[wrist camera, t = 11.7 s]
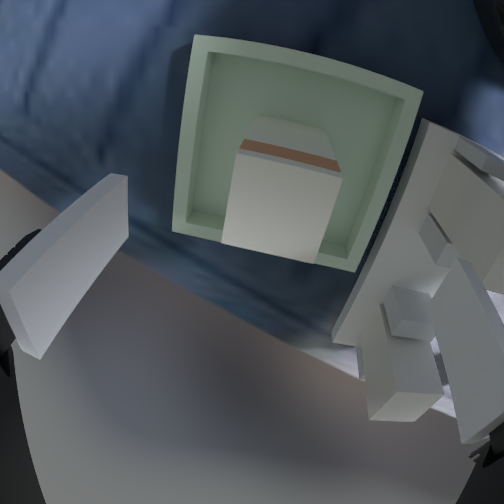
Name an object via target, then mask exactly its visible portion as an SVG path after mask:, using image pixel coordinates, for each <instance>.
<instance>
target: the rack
mask: <svg viewBox="0 0 504 504" xmlns="http://www.w3.org/2000/svg"><path fill="white" fill-rule="evenodd" d="M450 154H452V155H455V156H457V157H459V158H461V159H463V160H466V161H468V162H470V163H472V164H474V165H475V166H476V167H478V168H479V169H480V170H482V171H484V172H486V173H488V174H490V175H492V176H494V177H496V178H498V179H500V180H501V181H503V182H504V157H503V156H501V155H499V154H497V153H495V152H494V151H492V150H490V149H488V148H486V147H484V146H482V145H480V144H478V143H476V142H474V141H472V140H470V139H468V138H466V137H464V136H462V135H460V134H458V133H456V132H454V131H452V130H449V129H447V128H445V127H443V126H441V125H438V124H436V123H434V122H431V121H429V120H427V119H424V118H422V120H421V123H420V126H419V129H418V132H417V135H416V138H415V141H414V144H413V146H412V149H411V152H410V155H409V158H408V160H407V163H406V166H405V169H404V171H403V174H402V177H401V179H400V182H399V184H398V187H397V190H396V192H395V195H394V197H393V200H392V202H391V205H390V207H389V210H388V212H387V214H386V217H385V219H384V222H383V224H382V226H381V229H380V231H379V233H378V235H377V238H376V240H375V242H374V245H373V247H372V249H371V251H370V253H369V256H368V258H367V260H366V262H365V264H364V267H363V269H362V271H361V273H360V275H359V277H358V279H357V281H356V283H355V285H354V287H353V290H352V292H351V294H350V296H349V298H348V300H347V302H346V304H345V306H344V308H343V310H342V312H341V313H340V315H339V317H338V319H337V321H336V323H335V325H334V327H333V329H332V331H331V335H332V343H338V344H343V345H350V346H356V352H357V361H358V370H359V379H363V380H365V375H364V366H363V358H362V350H361V342H360V335H361V333H362V332H363V330H364V329H365V327H366V325H367V324H368V322H369V320H370V319H371V317H372V315H373V313H374V312H375V310H376V308H377V307H378V305H379V304H383V305H384V306H385V311H386V315H387V319H388V323H389V327H390V332H391V335H392V336H399V337H405V338H412V339H418V340H425V341H432V340H433V338H434V337H435V336H436V335H435V332H434V329H433V326H432V323H431V320H430V316H429V313H428V310H427V308H426V307H427V305H428V303H429V302H430V300H431V299H432V297H433V296H434V294H435V293H436V291H437V289H438V288H439V286H440V285H441V283H442V281H443V280H444V278H445V276H446V275H447V273H448V271H449V270H450V268H451V266H452V265H453V263H454V261H455V259H456V258H460V259H462V258H461V257H460V255H459V254H458V252H457V250H456V249H455V247H454V246H453V244H452V242H451V241H450V239H449V238H448V236H447V235H446V233H445V232H444V230H443V229H442V227H441V226H440V224H439V223H438V221H437V220H436V218H435V217H434V216H433V214H432V213H431V211H430V210H429V208H428V206H429V204H430V202H431V200H432V197H433V195H434V193H435V190H436V188H437V185H438V183H439V181H440V178H441V176H442V173H443V171H444V168H445V166H446V163H447V160H448V158H449V155H450Z"/></svg>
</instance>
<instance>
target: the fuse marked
mask: <svg viewBox="0 0 504 504" xmlns="http://www.w3.org/2000/svg"><path fill="white" fill-rule="evenodd" d="M342 181H343V177H342V174H341V170H340V168H339V165H338V162H337V160H336V157H335V155H334V152H333V149H332V147H331V144H330V141H329V139H328V136H327V134H326V131H325V130H324V129H320V128H316V127H312V126H308V125H304V124H300V123H296V122H292V121H288V120H284V119H279V118H275V117H270V116H265V115H261V114H259V116H258V117H257V119H256V121H255V122H254V124H253V126H252V127H251V129H250V131H249V132H248V134H247V136H246V137H245V139H244V140H243V142H242V144H241V145H240V147H239V149H238V151H237V153H236V158H235V163H234V169H233V175H232V180H231V186H230V192H229V198H228V204H227V210H226V216H225V222H224V228H223V234H222V241H221V243H222V244H227V245H231V246H236V247H240V248H245V249H249V250H254V251H258V252H262V253H267V254H271V255H276V256H280V257H285V258H289V259H293V260H298V261H302V262H307V263H311V264H314V261H315V258H316V256H317V253H318V250H319V247H320V245H321V242H322V239H323V236H324V233H325V231H326V228H327V225H328V222H329V219H330V216H331V213H332V210H333V208H334V205H335V202H336V199H337V196H338V193H339V190H340V187H341V184H342Z"/></svg>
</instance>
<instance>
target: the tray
mask: <svg viewBox="0 0 504 504" xmlns="http://www.w3.org/2000/svg"><path fill="white" fill-rule="evenodd" d="M423 92H424V91H422V90H419V89H417V88H414V87H412V86H410V85H407V84H405V83H402V82H399V81H397V80H394V79H392V78H389V77H386V76H383V75H381V74H378V73H375V72H372V71H369V70H366V69H363V68H360V67H357V66H353V65H350V64H347V63H344V62H340V61H337V60H333V59H330V58H326V57H322V56H318V55H314V54H310V53H306V52H302V51H298V50H293V49H289V48H284V47H279V46H274V45H269V44H263V43H257V42H251V41H245V40H238V39H231V38H223V37H215V36H205V35H194V39H193V45H192V51H191V57H190V63H189V70H188V76H187V83H186V90H185V97H184V105H183V113H182V121H181V129H180V138H179V148H178V158H177V168H176V179H175V192H174V205H173V220H172V231H173V232H177V233H182V234H186V235H191V236H195V237H200V238H204V239H208V240H213V241H217V242H221V241H222V234H223V228H224V222H225V216H226V210H227V204H228V198H229V192H230V186H231V180H232V175H233V169H234V163H235V158H236V153H237V151H238V149H239V147H240V145H241V144H242V142H243V140H244V139H245V137H246V136H247V134H248V132H249V131H250V129H251V127H252V126H253V124H254V122H255V121H256V119H257V117H258V116H259V114H261V115H265V116H270V117H275V118H279V119H284V120H288V121H292V122H296V123H300V124H304V125H308V126H312V127H316V128H320V129H324V130H325V131H326V134H327V136H328V139H329V141H330V144H331V147H332V149H333V152H334V155H335V157H336V160H337V162H338V165H339V168H340V170H341V174H342V177H343V181H342V184H341V187H340V190H339V193H338V196H337V199H336V202H335V205H334V208H333V210H332V213H331V216H330V219H329V222H328V225H327V228H326V231H325V233H324V236H323V239H322V242H321V245H320V247H319V250H318V253H317V256H316V258H315V261H314V263H315V264H319V265H324V266H328V267H332V268H337V269H341V270H346V271H350V272H354V273H355V272H356V269H357V267H358V265H359V263H360V261H361V258H362V256H363V254H364V252H365V249H366V247H367V245H368V243H369V240H370V238H371V236H372V233H373V231H374V229H375V226H376V224H377V221H378V219H379V217H380V214H381V212H382V209H383V207H384V204H385V202H386V199H387V197H388V194H389V192H390V189H391V186H392V184H393V181H394V178H395V176H396V173H397V170H398V168H399V165H400V162H401V159H402V157H403V154H404V151H405V148H406V145H407V142H408V139H409V136H410V133H411V130H412V127H413V124H414V121H415V118H416V115H417V112H418V108H419V105H420V102H421V99H422V95H423Z"/></svg>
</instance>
